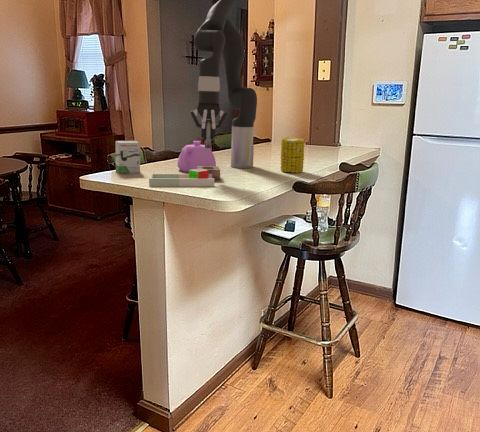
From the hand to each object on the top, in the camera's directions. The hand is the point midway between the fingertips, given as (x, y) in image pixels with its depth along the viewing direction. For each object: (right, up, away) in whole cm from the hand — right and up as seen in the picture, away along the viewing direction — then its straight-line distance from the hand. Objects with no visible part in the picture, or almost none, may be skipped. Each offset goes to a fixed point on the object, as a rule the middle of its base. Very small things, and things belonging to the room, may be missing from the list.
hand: (208, 139), depth 172 cm
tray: (-14, -17, -7) cm, 23 cm away
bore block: (0, -14, +4) cm, 15 cm away
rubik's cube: (-3, -17, -6) cm, 18 cm away
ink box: (-32, -11, +13) cm, 36 cm away
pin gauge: (0, -3, +1) cm, 3 cm away
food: (+33, -10, +24) cm, 42 cm away
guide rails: (-4, -16, -6) cm, 18 cm away
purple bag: (-6, -9, +21) cm, 24 cm away
